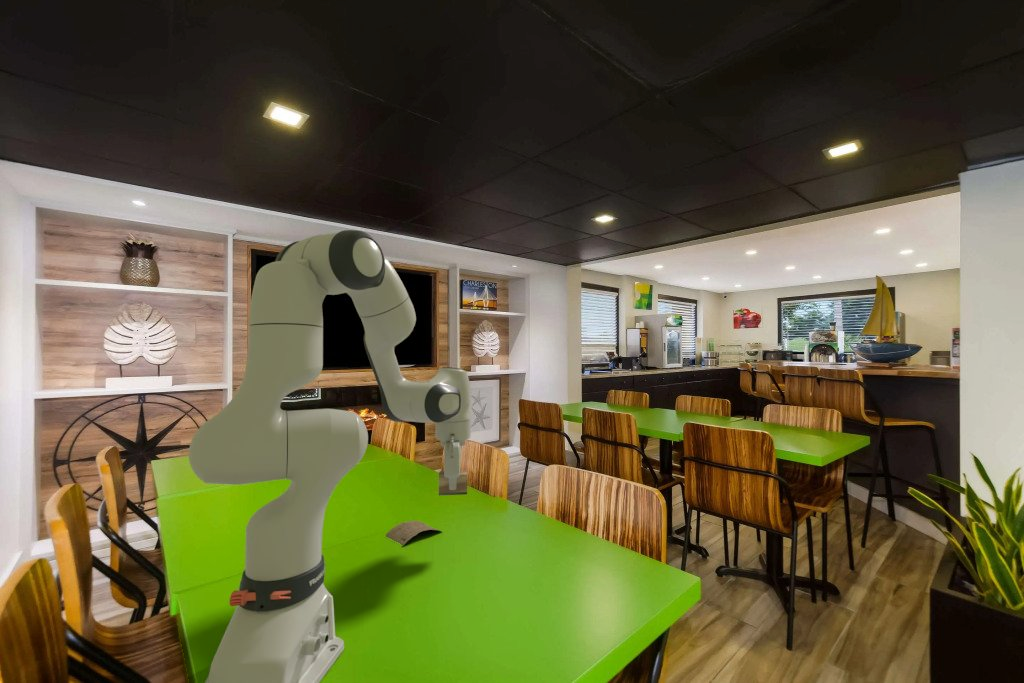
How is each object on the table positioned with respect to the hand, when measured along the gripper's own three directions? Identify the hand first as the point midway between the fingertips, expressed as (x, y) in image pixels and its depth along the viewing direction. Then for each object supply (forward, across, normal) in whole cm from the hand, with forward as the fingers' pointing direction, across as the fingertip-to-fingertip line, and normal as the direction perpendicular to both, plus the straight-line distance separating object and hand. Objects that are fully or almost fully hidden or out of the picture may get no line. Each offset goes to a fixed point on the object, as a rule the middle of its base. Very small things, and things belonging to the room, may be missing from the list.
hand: (453, 486), depth 111 cm
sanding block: (+2, 0, 0) cm, 2 cm away
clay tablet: (+16, +10, +11) cm, 22 cm away
